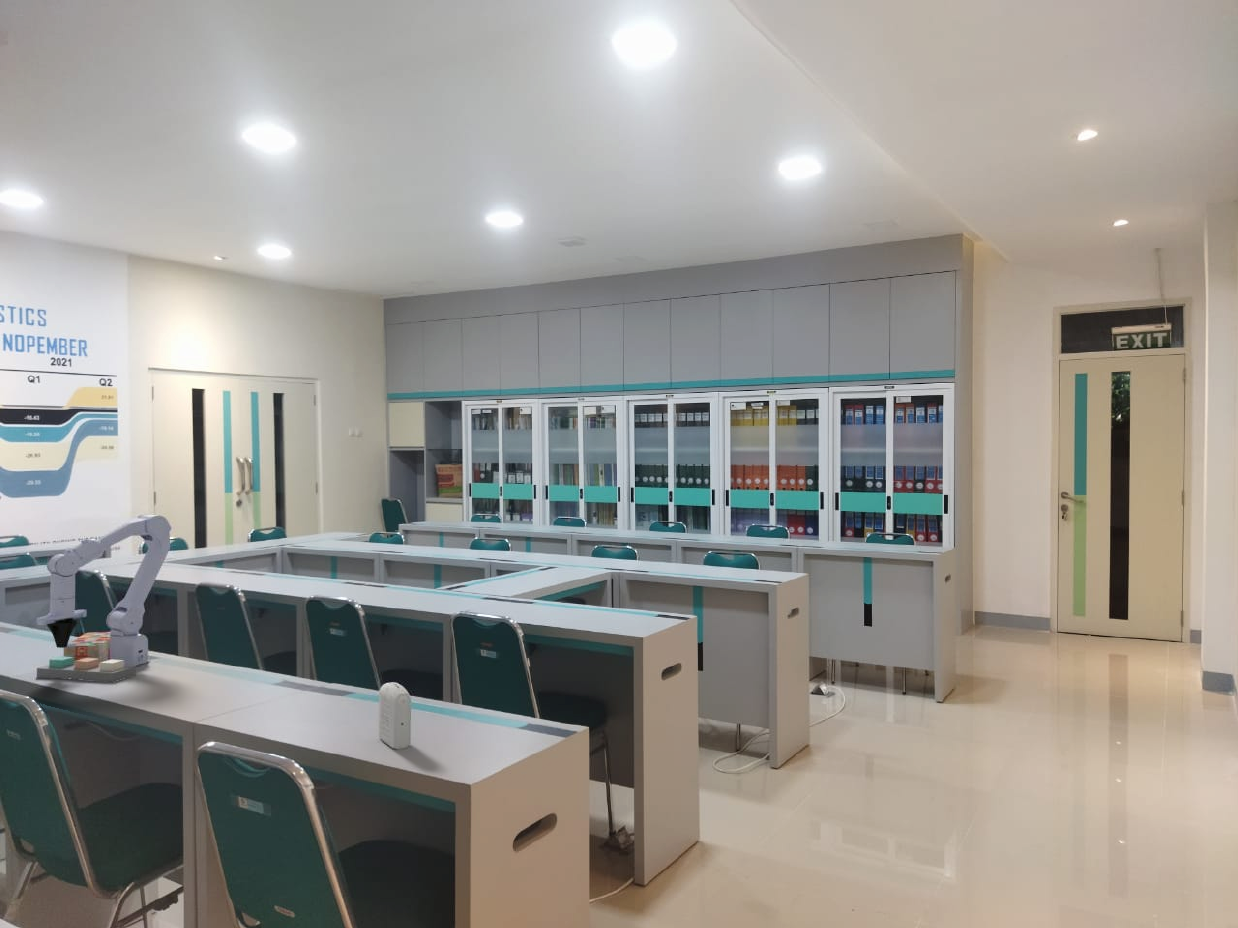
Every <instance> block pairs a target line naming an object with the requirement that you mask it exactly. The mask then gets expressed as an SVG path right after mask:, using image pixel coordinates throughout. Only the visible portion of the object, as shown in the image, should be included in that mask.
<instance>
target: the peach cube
mask: <svg viewBox="0 0 1238 928" xmlns="http://www.w3.org/2000/svg"><path fill="white" fill-rule="evenodd" d="M98 666H99V659H97V658H84V659H80V660H77V661H75V666H74V669H91V668H94V667H98Z"/></svg>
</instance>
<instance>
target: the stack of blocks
mask: <svg viewBox="0 0 1238 928" xmlns="http://www.w3.org/2000/svg"><path fill="white" fill-rule="evenodd" d="M110 632H111V631H102V632H99V631H96V632H95V631H94V632H86V633H83V634H82V635H80V636H79V637H77V638H76V639H74V640H73V641H71V642H68V644H67V647H64V648H63V657H74V662H75V661H77V660H80V659H84V658H97V659H99V664H100V662H104V661H107V660H110Z"/></svg>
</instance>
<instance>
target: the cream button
mask: <svg viewBox="0 0 1238 928" xmlns="http://www.w3.org/2000/svg"><path fill="white" fill-rule="evenodd" d="M122 668H124V660H114V659H111V660H110V659H108V660H107V661H104V662H100V670H103V671H115V670H118V669H122Z"/></svg>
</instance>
